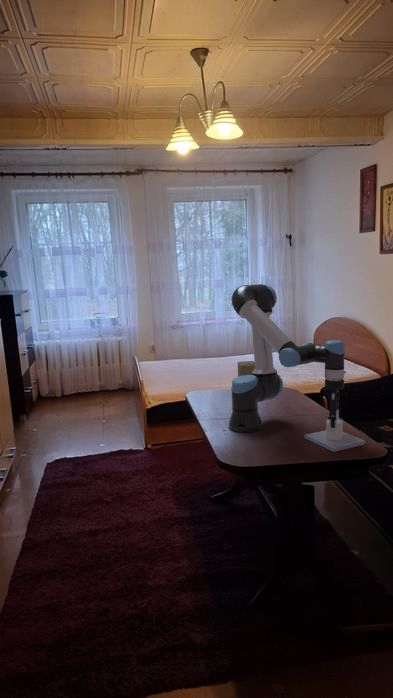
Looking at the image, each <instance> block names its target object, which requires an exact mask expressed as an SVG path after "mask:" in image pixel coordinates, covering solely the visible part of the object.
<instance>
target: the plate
mask: <svg viewBox="0 0 393 698" xmlns="http://www.w3.org/2000/svg"><path fill="white" fill-rule="evenodd" d="M304 439H305V440H308V441H310V442H311V443H314V444H316V445H317V446H320V447H323V448H325V449H327V450H329V451H331V452H334V453H335V452H338V451H342V450H343V451H344V450H348V449H352V448H356V447H361V446H364V445H366V440H365V439H362V438H360V437H357V436H355V435H352V434H350V433H346V432H344V431H343V434H342V441H338V440H327V439H326V429H325V430H321V431H317V432H316V431H315V432H311V433H306V434H304Z"/></svg>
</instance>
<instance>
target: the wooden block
mask: <svg viewBox="0 0 393 698" xmlns="http://www.w3.org/2000/svg"><path fill="white" fill-rule="evenodd" d="M254 369H255V361H254V360H243V361H238V362H237V377H239V376H245V375H252V372H253V371H254Z"/></svg>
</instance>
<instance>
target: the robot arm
mask: <svg viewBox="0 0 393 698" xmlns="http://www.w3.org/2000/svg"><path fill="white" fill-rule="evenodd" d="M277 301H278V300H277V294H276V291H275V289H274V288H273V287H272V286H271V285H268V284H263V283H262V284H260V283H259V284H244V285H240V286H237V288H236V289H234V291H233V292H232V295H231V305H232V307H233V309H234V311H235V312H236V314H237V315H238V316H239V317H240V318H241V319H245V320H246V321H247V322H248V323H249V324H250V326H251V333H252V334H251V335H252V345H253V346H252V347H253V357H254V358H253V361H254V362H255V369H254V371H253V372H252V375H245V376H239V377H238V376H236V377H235V378H233V379H232V381H231V404H232V405H231V407H232V409H231V413H230V417H229V422H228V428H229V430H231V431H233V432H236V433H255V432H258V431H260V430H261V429H263V422H262V419H261V416H260V413H259V403H261V402H264V401H267V400H268V401H269V400H272V399H274V398H277V397H280V395H282V392H283V389H284V381H283V378H282V377H281V375H280V374H278V370H277V369H276V368H275V367H274V359H273V358H274V356H273V350H275V352H276V353H277V354H278V361H279V364H280V365H281V366H283V367H285V368H294V367H297V366H301V365H306V364H311V363H320V364H324V378H325V379H324V388H325V389H326V390H330V391H329V394H328V398H329V401H328V403H329V415H328V416H327V419H329V435H335V436H336V435H337V419H339V416H340V410H341V406H340V402H339V401H340V397H341V395H340V390H341V391H342V390H344V389H345V380H344V378H345V374H346V373H347V372H346V371H345V355H346V354H345V352H346V351H345V343H344V342H343V340H338V339H336V340H334V339H331V340H326V341H325V343H324V344H321V343H320V344H319V343H312V342H309V343H307V342H305V343H302V344H301V345H300V346H299V345H297V344H296V343H294V341H292V339H291V338H289V337H288V335H287V334H286V333H285V332H284V331H283V330H282V329H281V328H280V327H279V326H278V325H277V324H276V323H275V322H274V321H273V320H272V319H271V318H270V317H271V315H272V314H273V308H275V306H276V304H277Z"/></svg>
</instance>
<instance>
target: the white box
mask: <svg viewBox="0 0 393 698" xmlns="http://www.w3.org/2000/svg"><path fill="white" fill-rule="evenodd" d="M343 425H344V424H343V419H337V435H336V436H335V435H329V419H328V418H327V420H326V423H325V430H326V439H327V440H338V441H342V434H343V432H344V429H343Z"/></svg>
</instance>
